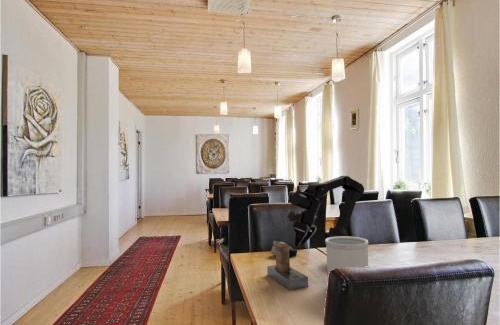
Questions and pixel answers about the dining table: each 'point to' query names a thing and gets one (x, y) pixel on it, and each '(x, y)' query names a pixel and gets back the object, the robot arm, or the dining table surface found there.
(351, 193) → the robot arm
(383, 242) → the dining table surface
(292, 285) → the grey peg hole block
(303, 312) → the dining table surface
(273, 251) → the caster wheel
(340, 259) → the utensil holder
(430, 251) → the dining table surface
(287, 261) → the walnut peg
